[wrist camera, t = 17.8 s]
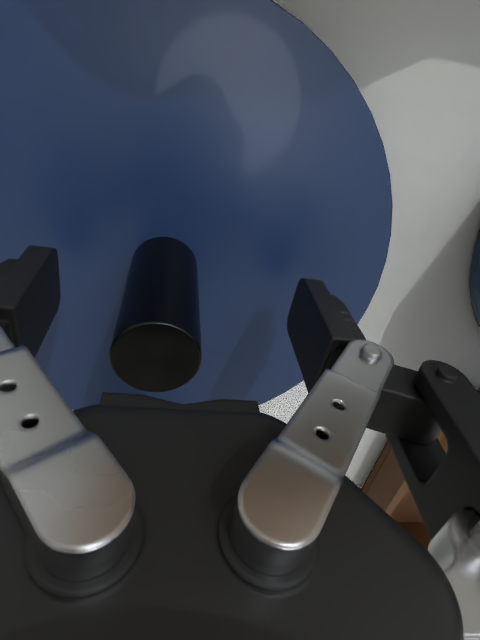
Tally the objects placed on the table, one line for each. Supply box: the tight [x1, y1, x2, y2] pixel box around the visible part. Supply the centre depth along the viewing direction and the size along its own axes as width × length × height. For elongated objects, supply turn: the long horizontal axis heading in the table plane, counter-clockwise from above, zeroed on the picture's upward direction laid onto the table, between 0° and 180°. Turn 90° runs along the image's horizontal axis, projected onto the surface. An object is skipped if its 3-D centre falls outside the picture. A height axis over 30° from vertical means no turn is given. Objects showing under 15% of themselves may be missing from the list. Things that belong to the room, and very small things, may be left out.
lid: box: [0, 0, 392, 410], centre depth 13 cm, size 17×17×7 cm
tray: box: [362, 390, 480, 550], centre depth 26 cm, size 12×13×2 cm
